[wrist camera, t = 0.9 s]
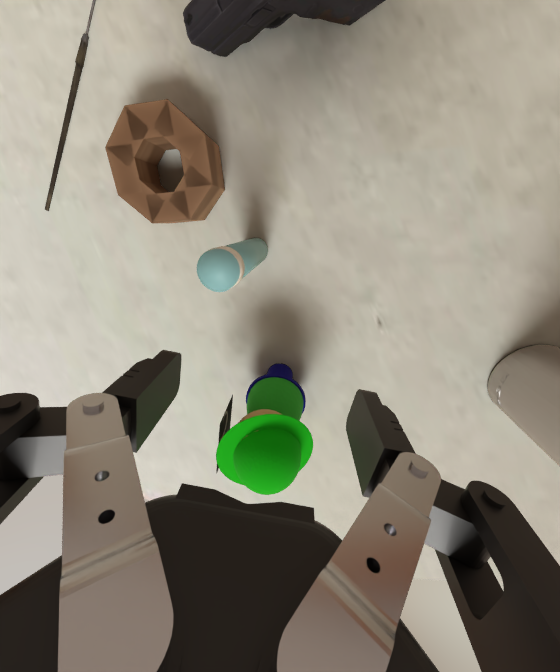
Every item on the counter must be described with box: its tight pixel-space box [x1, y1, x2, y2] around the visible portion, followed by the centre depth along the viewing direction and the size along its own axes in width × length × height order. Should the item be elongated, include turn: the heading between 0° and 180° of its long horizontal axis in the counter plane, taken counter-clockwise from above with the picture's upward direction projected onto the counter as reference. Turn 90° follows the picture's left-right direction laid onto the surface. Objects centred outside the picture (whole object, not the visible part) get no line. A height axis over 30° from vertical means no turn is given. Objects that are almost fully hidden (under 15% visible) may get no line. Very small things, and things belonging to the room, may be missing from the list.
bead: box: [105, 99, 225, 223], centre depth 26 cm, size 9×9×4 cm
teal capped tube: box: [197, 238, 268, 292], centre depth 24 cm, size 3×3×14 cm
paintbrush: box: [45, 0, 95, 211], centre depth 26 cm, size 1×25×1 cm, turn 148°
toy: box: [216, 363, 313, 495], centre depth 29 cm, size 9×9×15 cm
